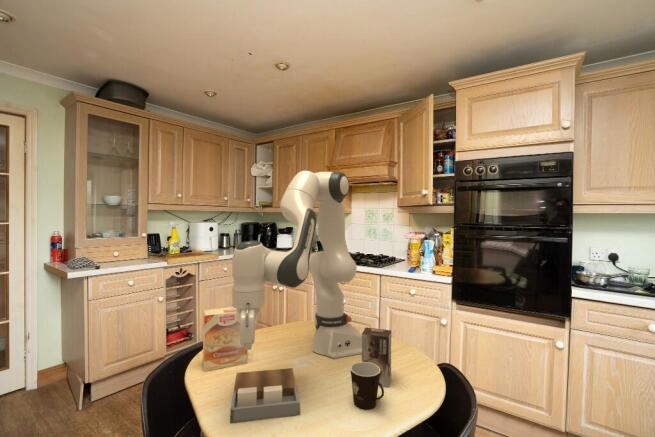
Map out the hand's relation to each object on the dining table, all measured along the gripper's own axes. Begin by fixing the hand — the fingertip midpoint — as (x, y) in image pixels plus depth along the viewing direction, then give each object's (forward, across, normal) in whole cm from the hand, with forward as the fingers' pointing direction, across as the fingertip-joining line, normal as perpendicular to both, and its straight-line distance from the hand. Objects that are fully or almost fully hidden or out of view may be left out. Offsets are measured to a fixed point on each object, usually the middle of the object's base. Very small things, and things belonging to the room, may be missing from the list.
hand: (248, 347), depth 89 cm
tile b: (+13, -2, 0) cm, 14 cm away
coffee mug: (+17, -7, -33) cm, 37 cm away
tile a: (+13, -3, -7) cm, 15 cm away
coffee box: (+17, +6, -41) cm, 45 cm away
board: (+16, +7, -5) cm, 19 cm away
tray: (+16, -3, -5) cm, 17 cm away
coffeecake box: (+17, +27, +9) cm, 33 cm away
